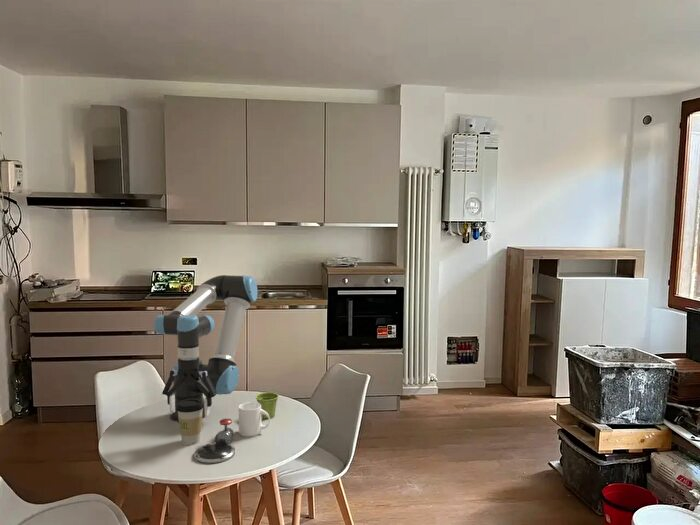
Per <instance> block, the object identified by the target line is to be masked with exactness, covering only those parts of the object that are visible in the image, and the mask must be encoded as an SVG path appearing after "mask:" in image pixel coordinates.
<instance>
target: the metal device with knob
mask: <svg viewBox="0 0 700 525" xmlns="http://www.w3.org/2000/svg"><path fill="white" fill-rule="evenodd" d="M232 423H233V420H232V419H231V418H221V419H220V420H219V424H220V425H221V426H224V429H223V430H220V431H218V432H217V433H216V434H215V436H214V443H207V444H204V445H203V446H201V447H198V448H197V449H196V450H195V451H194V454H193V458H194V460H195V461H196V462H198V463H201V464H206V465H207V464H208V465H212V464H219V463H223V462H227V461H229V460H231V459H232V458H233V457H234V456H236V448H235V447H234V445H233V444H231V443H232V440H233V438H234V435H235V434H234V433H235V432H234V429H232V428H231V427H228V425H231V424H232Z"/></svg>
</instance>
